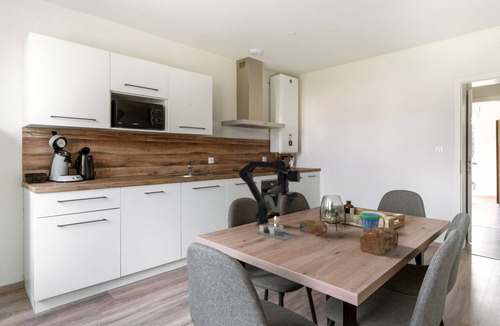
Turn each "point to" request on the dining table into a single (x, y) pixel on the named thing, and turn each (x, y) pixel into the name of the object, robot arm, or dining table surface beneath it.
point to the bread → (379, 240)
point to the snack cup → (370, 220)
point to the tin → (313, 227)
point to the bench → (282, 236)
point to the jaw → (276, 227)
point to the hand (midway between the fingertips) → (282, 208)
